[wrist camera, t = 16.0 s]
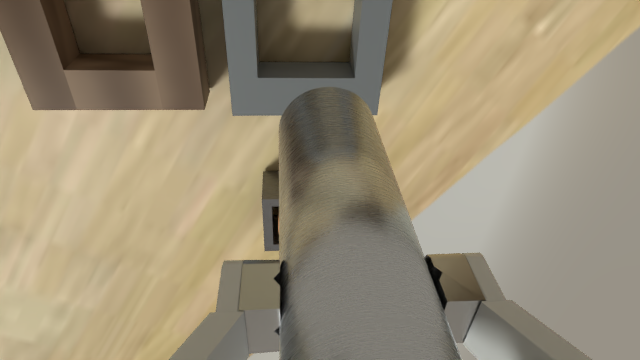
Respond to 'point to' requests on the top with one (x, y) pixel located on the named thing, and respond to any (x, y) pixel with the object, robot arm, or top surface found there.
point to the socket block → (107, 60)
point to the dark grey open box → (270, 209)
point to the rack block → (299, 77)
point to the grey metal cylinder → (349, 242)
